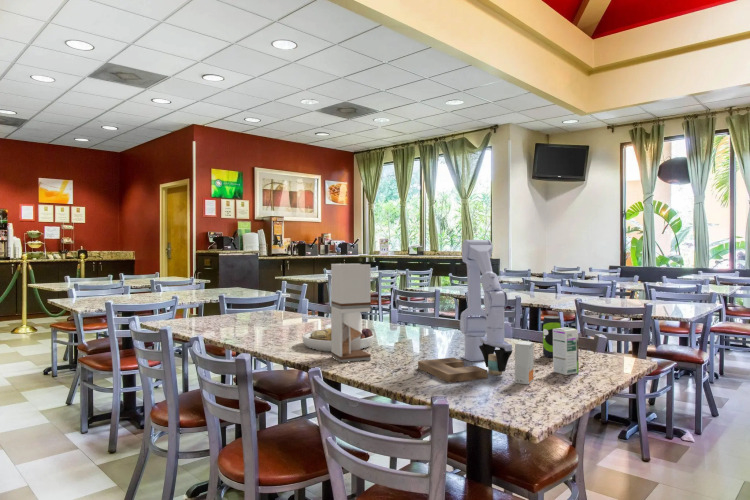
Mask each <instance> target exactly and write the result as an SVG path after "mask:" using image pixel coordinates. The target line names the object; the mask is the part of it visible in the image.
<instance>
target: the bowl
mask: <svg viewBox="0 0 750 500" xmlns="http://www.w3.org/2000/svg"><path fill="white" fill-rule="evenodd" d="M301 338H302V343H303V344H304V345H305V347H306V348H309V349H311V348H312V349H311V350H314V349H316V350H315V351H319V350H323V351H322V352H329V351H331V328H330V327H329V328H325V329H316V330H311V331H307V332H304V333H303V334H302V337H301ZM374 340H375V333H374V332H372V330H371V329H370V328H367V327H366V328H362V335H361V350H363V348H364V349H366V348H368V347H369V346H371V345H372V344H373V342H374Z"/></svg>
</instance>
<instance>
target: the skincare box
mask: <svg viewBox="0 0 750 500" xmlns="http://www.w3.org/2000/svg"><path fill="white" fill-rule="evenodd" d="M534 344H535V343H534V342H532V341H525V340H520V341H518V342H517V343H514V351H515V352H514V383H515V384H521V385H527V386H529V384H530V383H532V382H533V381H534V353H535V349H534V348H535V347H534Z"/></svg>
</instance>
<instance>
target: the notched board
mask: <svg viewBox="0 0 750 500" xmlns="http://www.w3.org/2000/svg"><path fill="white" fill-rule="evenodd" d="M464 365H465V362H464V361H463V360H461V359H459V358H456V357H446V358H445V357H444V358H436V359H426V360H425V359H424V360H418V361H417V366H418V367H417V369H418V368H419V370H421V371H422V372H425V373H427V372H428V373H427V374H429V373H430V374H429V375H431V374H432V375H431V376H433V375H434V376H433V377H435V376H436V377H435V378H437V377H438V379H440V380H442V379H443V380H442V381H444V380H445V381H444V382H446V381H447V382H446V383H448V382H451V383H457V382H456V381H459V382H465V381H466V382H467V380H468V381H474V379H476V380H484V379H488V370H487V369H485V368H482V367H480V366H477V365H472V366H464ZM483 378H484V379H483Z"/></svg>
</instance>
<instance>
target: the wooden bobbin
mask: <svg viewBox="0 0 750 500" xmlns="http://www.w3.org/2000/svg"><path fill="white" fill-rule="evenodd" d="M487 369H488V370H487V374H488V375H491V376H501V375H503V372H499V371H498V364H497V357H496V354H495V353H494V354H489V355H488V367H487Z"/></svg>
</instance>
